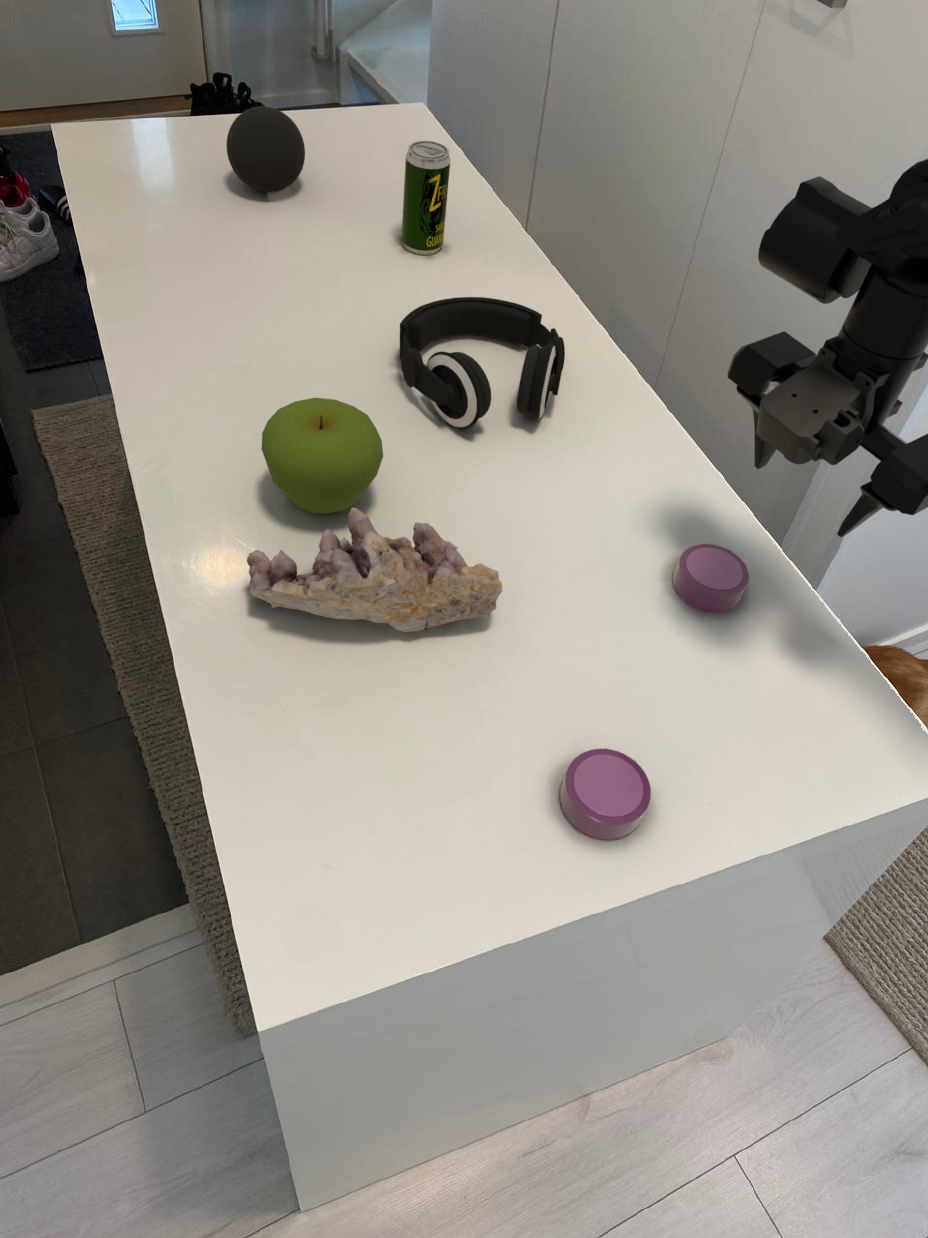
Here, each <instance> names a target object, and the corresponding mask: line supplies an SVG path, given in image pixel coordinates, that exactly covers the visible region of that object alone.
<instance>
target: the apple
mask: <svg viewBox="0 0 928 1238" xmlns="http://www.w3.org/2000/svg"><path fill="white" fill-rule="evenodd" d="M383 449H384V448H383V441H382V438H381V436H380V433H379V432H378V429H377V427H376V426H375V424H374V422H373V421H372V420H371V417H370V416H369V415H368V414H367V413H365V412H364V411H362V410H360V409H359V408H357V407H355V406H354V405H351V404H349V403H345V402H343V401H340V400H337V399H333V398H322V397H311V398H306V399H301V400H295V401H293V402H291V403H288V404H286V405H284V406H282V407H279V408H278V409H276V411H275V412H274V413H273V414H272V416H270V417H269V419H268V420H267V421H266V424H265V426H264V428H263V431H262V433H261V452H262V455H263V458H264V460H265V463H266V466H267V468H268V471H269V474H270V477H271V480H272V482H273V483H274V485H275V486H276V487H277V488H278V489H279V490H280V491H281V493H283V494H284V496H285V497H286V498H287V499H288V500H289V501H291V502H292V503H293V504H294V505H295V506H296V507H297V508H299V509H301V510H304V511H307V512H309V513H312V514H332V513H337V512H343V511H346V510H347V509H348V508H350V507H352V506H353V505H355V504H357V503H358V502H359V500H360V499H361V497H362V496H363V495H364V493H365V492H366V491H367V490H368V488H369V487H370V485H371V484H372V483H373V481H374V480H375V479H376V477H377V475H378V472H379V470H380V467H381V464H382V461H383V458H384V450H383Z"/></svg>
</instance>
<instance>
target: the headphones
mask: <svg viewBox="0 0 928 1238" xmlns="http://www.w3.org/2000/svg"><path fill="white" fill-rule="evenodd" d="M542 318H543V314H542V313H540V312H539V311H537V310H534V309H532V308H530V307H528V306H525V305H523V304H519V303H516V302H513V301H509V300H504V299H498V298H493V297H491V298H490V297H482V296H481V297H480V296H461V297H460V296H459V297H451V298H444V299H443V298H442V299H439V300H435V301H430V302H428V303H425V304H422V305H420V306H418V307H416V308H414V309H413V310H412V311H410V312H409V313H408V314H407V315H406V316H405V317H404V318H403V319H402V320H401V321H400V323H399V360H400V365H401V372H402V377H403V379H404V382H405V384H406V385H407V387H408V388H414V389H416V390H417V391H418V392H419V393H420V394H421V395H423V396H425V397H426V398H428V399H429V400H430V402H431V404H432V406H433V407H434V410H435V411H436V412H437V413H438V415H439V416H440V417H441V418H442V419H443V420H444V421H445V422H447V423H448V425H450V426H452V427H454V428H456V429H460V430H467V429H470V428H471V427H473V426H474V425H475V424H476V423H477V422H478V420H479V419H481V418H483V417H484V416H486V414H487V412H488V411H489V410H490V407H491V403H492V390H491V384H490V381H489V379H488V376H487V374H486V373H485V371H484V369H483V367H482V366H481V365H480V364H479V363H478V362H477V360H475V359H474V358H473V357H472V356H470V355H468V354H467V353H464V352H461V351H454V352H453V351H452V352H449V351H437V352H434V353H433V354H432V355H430V356H429V358H428V360H427V362H426V364H425V363H424V360H423V356H422V354H421V351H422V350H424V349H425V348H426V347H427V346H428V345H430V344H431V343H434V342H437V341H438V340H441V339H444V338H447V337H453V336H459V335H477V336H487V337H490V338H491V337H492V338H496V339H499V340H500V339H501V340H504V341H508V342H511V343H513V344H516V345H520V346H525V347H527V348H528V349H527V351H526V354H525V356H524V361H523V364H522V368H521V373H520V379H519V382H518V383H519V384H518V390H517V395H516V396H517V397H516V409H517V411H518V412H519V414H521V415H531V417H532V418H533V419H535V421H539V419H542V417H543V414H544V412H545V411H546V408H547V405H548V401H549V397H550V393H551V392H552V396H556V397H557V396H559V389H560V384H561V379H562V378H561V377H562V372H563V370H564V365H565V358H566V354H565V353H566V349H565V341H564V339H563V336H559V334H558V332H557V329H556V328H555V327H554V328H550V330H549V328H547V326H545V325H544V324H542Z"/></svg>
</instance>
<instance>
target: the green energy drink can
mask: <svg viewBox="0 0 928 1238" xmlns="http://www.w3.org/2000/svg"><path fill="white" fill-rule="evenodd" d="M407 147H408V148H407V152H406V154H405V167H404V182H403V183H404V185H403V200H402V201H403V202H402V203H403V204H402V207H403V208H402V220H401V221H402V224H401V241H402V244H403V247H404V248H405V249H406V250H407V251H408V252H410V253H412V254H415V255H420V256H430V255H433V254H436V253H438V252H439V251H440V250H441V249H442V246H443V245H444V237H445V227H446V226H445V225H446V216H447V215H446V214H447V205H448V193H449V181H450V170H451V169H450V168H451V158H450V150H449V148H448V147H447V146H446V145H444V144H442V143H441V142H437V141H433V140H418V141H414V142H411V143H410V144H409V145H408V146H407Z"/></svg>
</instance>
